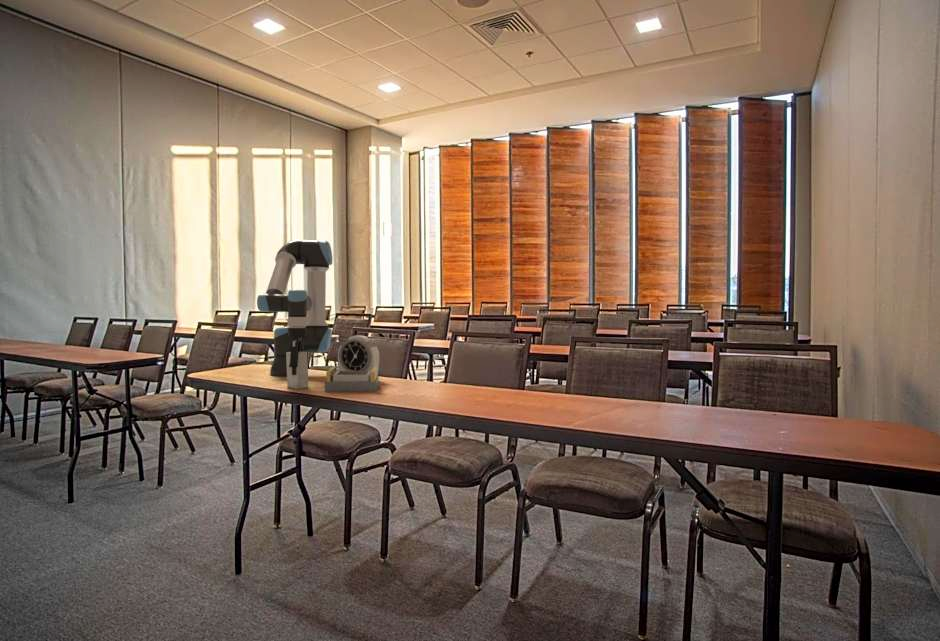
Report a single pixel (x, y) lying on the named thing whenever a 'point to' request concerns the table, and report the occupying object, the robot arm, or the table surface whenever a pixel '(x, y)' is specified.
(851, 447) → the table surface
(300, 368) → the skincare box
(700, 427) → the table surface
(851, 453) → the table surface
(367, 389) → the grey display stand
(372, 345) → the alarm clock
